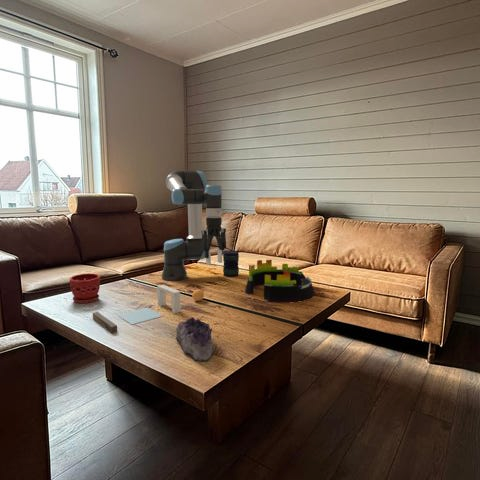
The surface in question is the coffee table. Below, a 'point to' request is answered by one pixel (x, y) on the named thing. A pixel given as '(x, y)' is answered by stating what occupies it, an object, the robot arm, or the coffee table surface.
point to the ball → (198, 295)
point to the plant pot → (85, 287)
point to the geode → (195, 339)
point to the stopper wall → (105, 322)
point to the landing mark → (139, 315)
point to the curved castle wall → (279, 283)
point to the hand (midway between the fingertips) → (214, 263)
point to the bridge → (175, 297)
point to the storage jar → (230, 263)
